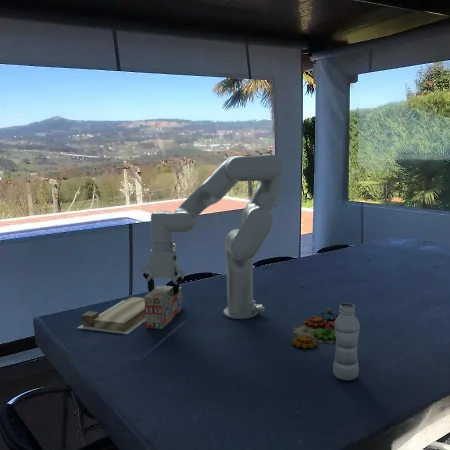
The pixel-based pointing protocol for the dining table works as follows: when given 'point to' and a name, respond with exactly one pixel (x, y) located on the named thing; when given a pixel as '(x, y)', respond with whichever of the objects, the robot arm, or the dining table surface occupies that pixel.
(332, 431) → the dining table surface
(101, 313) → the cream tile
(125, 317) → the oak plinth
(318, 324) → the gear puzzle
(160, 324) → the stack of blocks
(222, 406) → the dining table surface
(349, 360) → the plastic bottle
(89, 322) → the walnut cube
